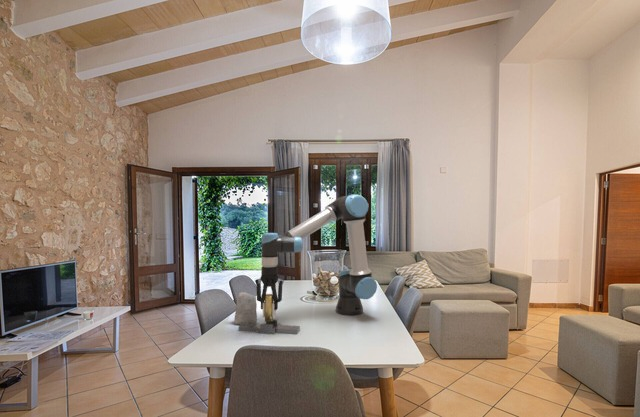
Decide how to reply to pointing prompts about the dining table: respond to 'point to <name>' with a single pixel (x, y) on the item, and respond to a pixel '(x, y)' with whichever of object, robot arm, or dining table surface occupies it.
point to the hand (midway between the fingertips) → (269, 316)
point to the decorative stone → (245, 309)
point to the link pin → (268, 307)
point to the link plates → (269, 328)
